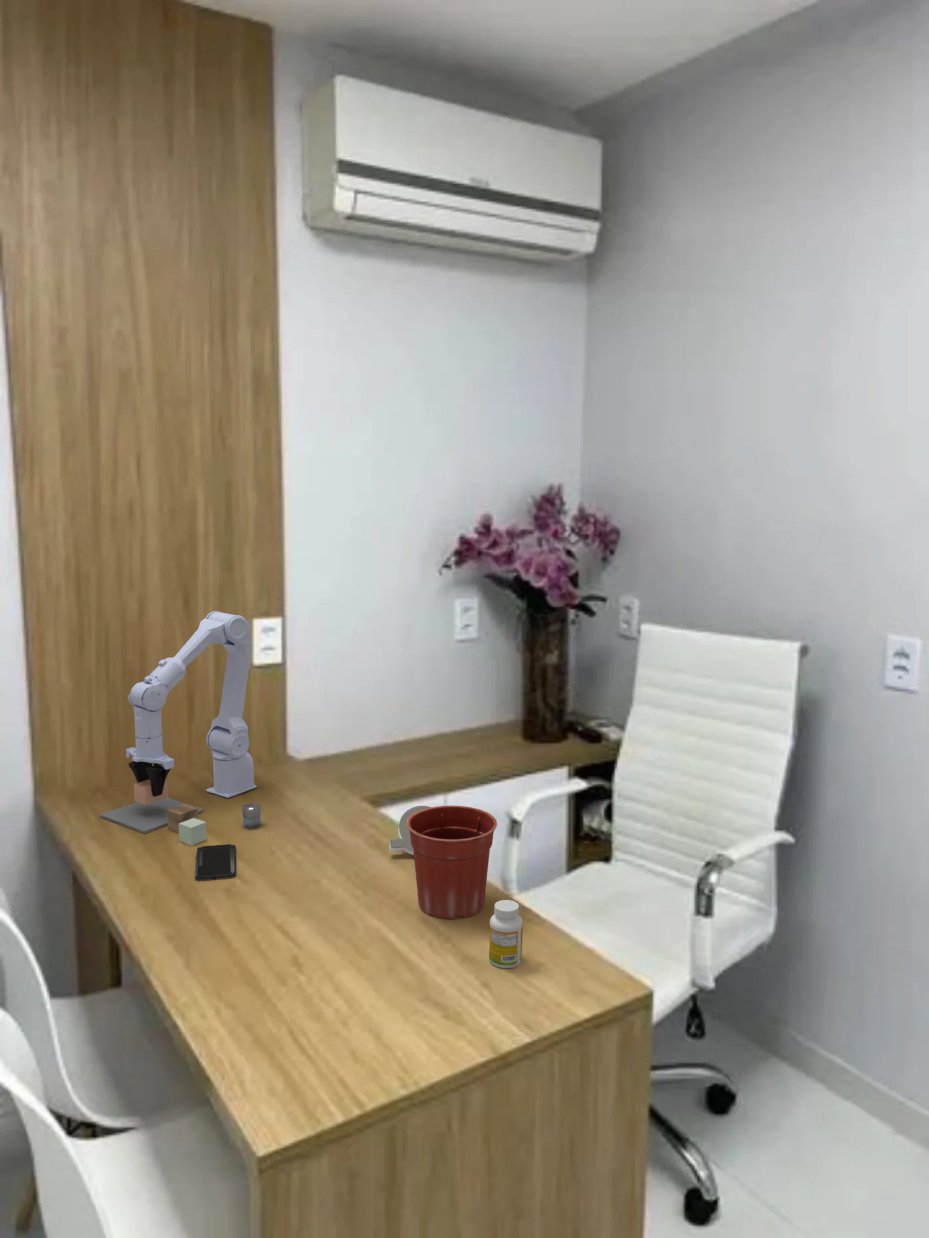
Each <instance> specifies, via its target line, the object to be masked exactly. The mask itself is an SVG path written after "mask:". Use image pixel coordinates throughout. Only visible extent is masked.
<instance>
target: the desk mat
mask: <svg viewBox="0 0 929 1238" xmlns="http://www.w3.org/2000/svg"><path fill="white" fill-rule="evenodd" d="M183 804H185V805H188V806H192V807H195V808H197V812H198V815H199V814H201V813H204V809H203V808H200V807H197V806H194V805H191V804H187V803H185V802H182V801H178V800H176V799H174V798H173V799H172V798H170V797H167V798H164V799H161V800H159V801H156V802H153V803H150V804H147V805H145V804H142V803H139V802H136V801H135V802H133V803H131V804H128V805H124V806H121V807H118V808H116V809H114V810H111V811H106V812H104V813H101V814H99V817H100V819H101V818H102V819H104V820H106V821H109V822H112V823H114V824H118V825H120V826H122V827H125V828H128V829H130V830H133V831H136V832H139V833H142V834H148V833H151V832H154V831H156V830H159V829H161V828H164V827H168V816H167V810H169V809H171V808H174V807H177V806H180V805H183Z"/></svg>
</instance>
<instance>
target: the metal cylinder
mask: <svg viewBox="0 0 929 1238" xmlns="http://www.w3.org/2000/svg"><path fill="white" fill-rule="evenodd" d="M241 808H242V809H241V810H242V811H241V812H242V815H241V816H242V828H243V829H246V830H257V829H259V828H261V826H262V807H261V804H260V803H255V802H253V803H246V804H244V805H242V807H241Z"/></svg>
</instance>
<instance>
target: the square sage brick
mask: <svg viewBox="0 0 929 1238" xmlns="http://www.w3.org/2000/svg"><path fill="white" fill-rule="evenodd" d="M178 838H179V839H178V841H179V842H180V843H183V842H184V844H186V845H188V846H194V845H197V844H199V843H202V842H204V841H207V840H208V839H207V838H208V836H207V821H204V820H202V819H196V818H192V819H190V820H187V821H184V822H182V823H179V833H178Z"/></svg>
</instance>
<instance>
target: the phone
mask: <svg viewBox="0 0 929 1238" xmlns="http://www.w3.org/2000/svg"><path fill="white" fill-rule="evenodd" d="M236 852H237V846H236V845H235V844H233V843H232V844H231V843H229V844H219V845H218V844H216V845H205V846H204V845H203V846H199V847H197V849H196V856H195V869H194V880H195V881H197V882H207V881H215V880H228V879H227V878H230V879H234V878H235V877H237V853H236ZM233 877H234V878H233Z"/></svg>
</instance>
